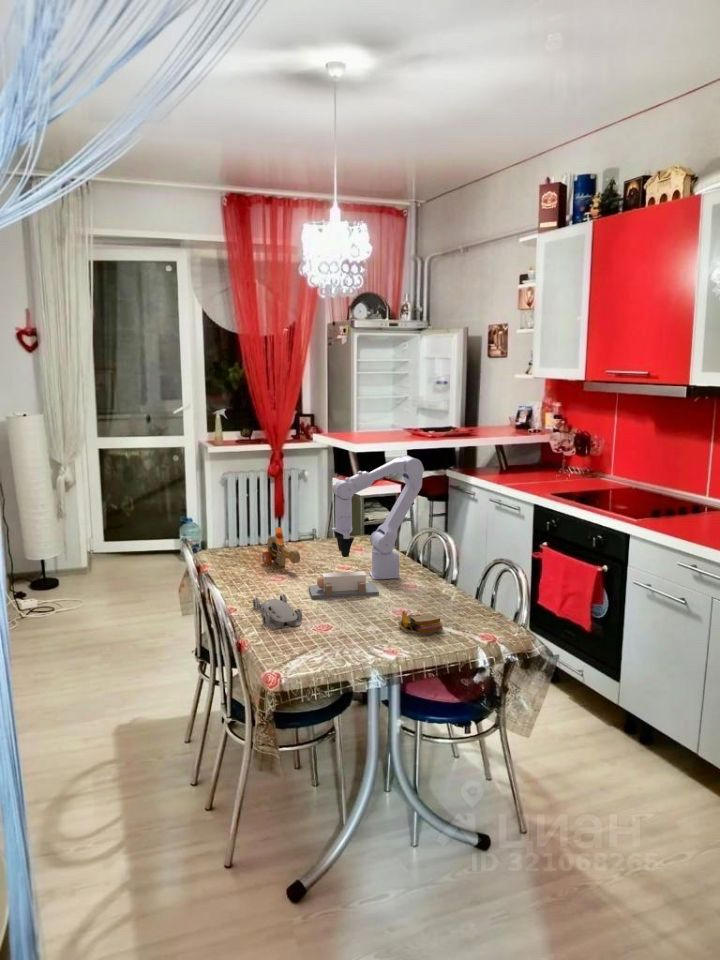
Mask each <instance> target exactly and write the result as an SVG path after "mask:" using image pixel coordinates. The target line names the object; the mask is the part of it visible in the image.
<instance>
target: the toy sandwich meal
mask: <svg viewBox="0 0 720 960" xmlns="http://www.w3.org/2000/svg"><path fill="white" fill-rule="evenodd" d="M398 626H399V628H400V629H401V630H402V629H403V631H404V632H405V631H406V633H407V634H408V633H409V634H411V633H412V635H418V634H426V635H431V634H430V633H432V634H435V633H437V632H438V631H440V630H443V623H442V622H441V617H438V616H436V615H434V613H428V614H408V615H407V613H406V611H405V610H403V611H402V613H401V620H400V621H399V622H398ZM436 631H437V632H436ZM434 632H435V633H434Z"/></svg>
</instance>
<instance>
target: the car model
mask: <svg viewBox="0 0 720 960" xmlns="http://www.w3.org/2000/svg"><path fill="white" fill-rule="evenodd" d="M260 601H261V600H260V598H259V597H254V598H252V605H253V608H254V607H255V608H254V610H256V609H257V611H258V610H259V611H260V612H261V613H260V614H261V616H262V624H263V625H264V624H265V625H264V626H265V627H267V628H269V629H273V630H282V629H283V628H285V627H291V628H294V627H295V628H296V627H299V626H300V625H302V621H303V612H302V610H301V609H299V608H296V609H295V610H294V608H292V606H290V604H289V603H288V599H287V595H286V594H285V593H282V594H280V595H279V599H277V598H276V599H274V598H271V599H267V600H265V601H263V602H262V603H261V602H260ZM259 611H258V612H259Z"/></svg>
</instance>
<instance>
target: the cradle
mask: <svg viewBox="0 0 720 960" xmlns="http://www.w3.org/2000/svg"><path fill="white" fill-rule="evenodd" d="M308 590H309V594H310V597H311V600H319V599H320V600H322V599H323V598H324V599H339V598H355V597H371V596H374V597H376V596H380V591H379V589H378V587H377V586H376V584H375V582H374V581H373V582H372V581H371V582H366V584H365V582H358V590H347V591H332V585H331V583H330V584H325V592H324V591H323V589H321V588H319V587H318V585H317V584H316V585H308Z"/></svg>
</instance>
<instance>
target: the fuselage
mask: <svg viewBox="0 0 720 960" xmlns="http://www.w3.org/2000/svg"><path fill="white" fill-rule="evenodd" d="M358 582H365V584H366V583H367V574H366V573H365V571H344V572H343V571H341V572H323V573H322V576H320V577H318V579H317V581H316V585H318V587H319V588H321V589H323V591H324V592H325V584H330V583H331V585H332V591H347V590H358Z"/></svg>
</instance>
